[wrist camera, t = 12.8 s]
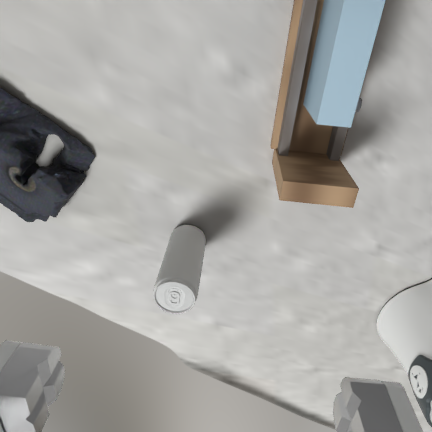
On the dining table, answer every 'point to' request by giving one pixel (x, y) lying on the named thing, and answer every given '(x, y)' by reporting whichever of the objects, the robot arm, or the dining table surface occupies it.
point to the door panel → (341, 59)
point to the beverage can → (180, 270)
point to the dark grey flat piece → (27, 168)
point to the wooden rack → (306, 126)
